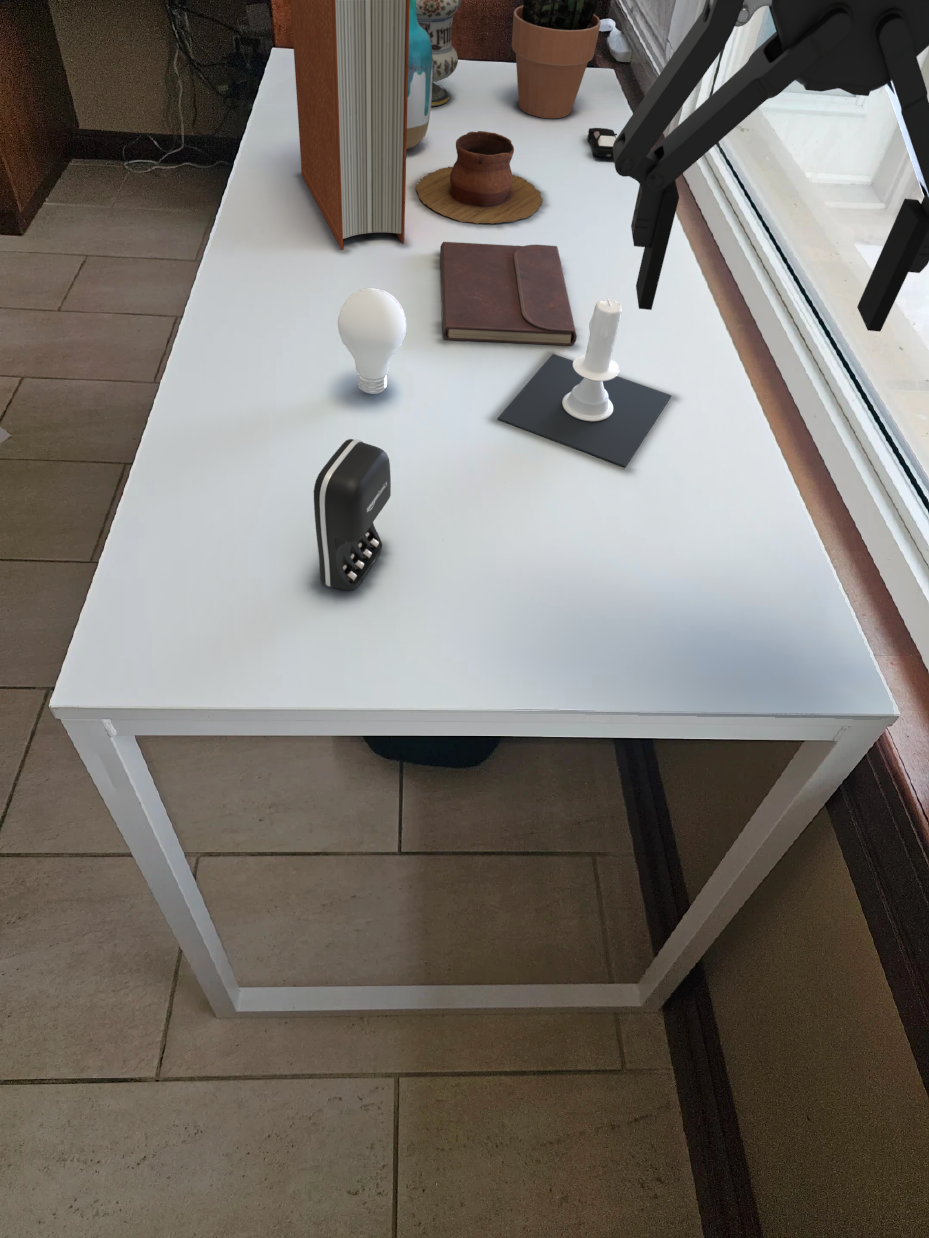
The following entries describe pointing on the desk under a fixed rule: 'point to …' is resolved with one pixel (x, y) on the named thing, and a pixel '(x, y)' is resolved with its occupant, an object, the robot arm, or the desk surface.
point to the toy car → (602, 141)
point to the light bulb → (372, 334)
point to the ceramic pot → (480, 183)
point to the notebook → (505, 294)
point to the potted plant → (553, 53)
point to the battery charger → (350, 512)
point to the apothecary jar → (439, 41)
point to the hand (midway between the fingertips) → (755, 309)
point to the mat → (603, 439)
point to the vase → (418, 80)
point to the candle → (596, 366)
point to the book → (353, 110)
